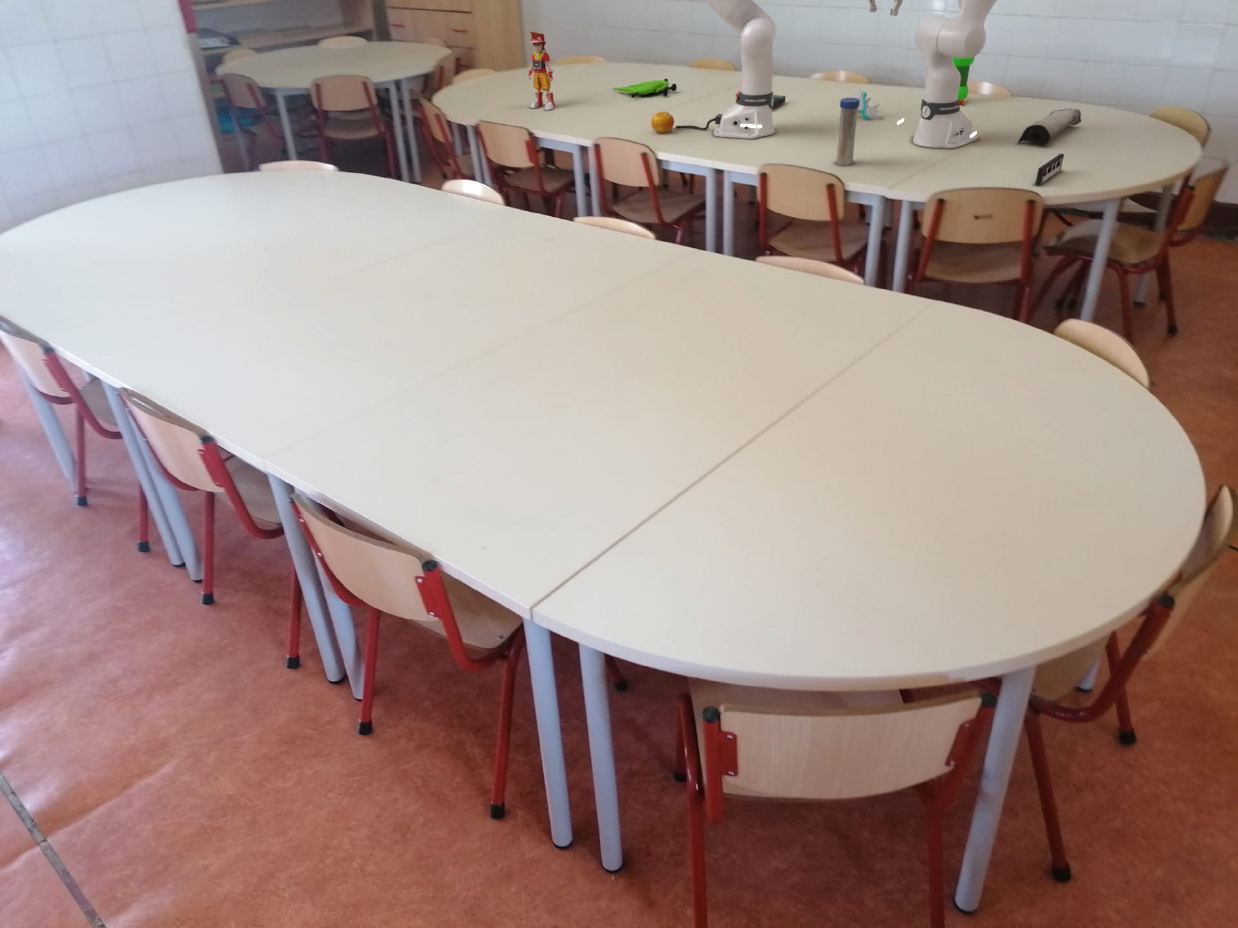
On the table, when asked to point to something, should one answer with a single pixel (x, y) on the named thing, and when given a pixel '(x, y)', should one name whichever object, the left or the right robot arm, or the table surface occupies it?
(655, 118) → the fruit
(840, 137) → the jar
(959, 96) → the green dumbbell
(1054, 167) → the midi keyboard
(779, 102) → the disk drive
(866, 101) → the anatomical model
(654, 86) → the toy
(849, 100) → the lid
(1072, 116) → the rolled mat
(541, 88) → the toy
